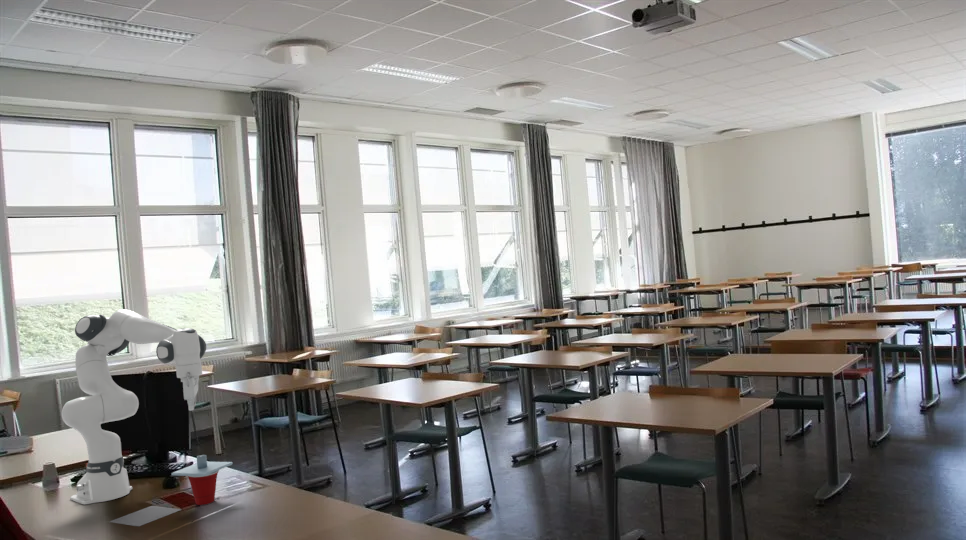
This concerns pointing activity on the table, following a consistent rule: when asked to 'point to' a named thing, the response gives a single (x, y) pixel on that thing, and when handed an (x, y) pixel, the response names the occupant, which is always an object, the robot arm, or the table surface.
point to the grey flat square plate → (145, 515)
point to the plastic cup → (204, 488)
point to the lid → (201, 467)
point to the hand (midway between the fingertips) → (192, 408)
